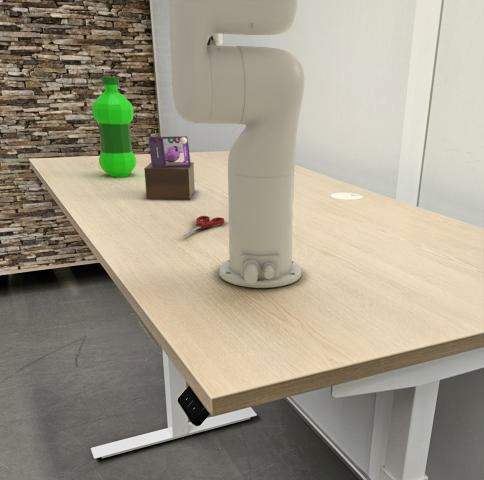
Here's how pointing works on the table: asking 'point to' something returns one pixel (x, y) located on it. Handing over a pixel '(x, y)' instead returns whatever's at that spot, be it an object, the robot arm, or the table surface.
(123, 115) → the plastic bottle
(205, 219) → the scissors
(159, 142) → the purple toy box
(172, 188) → the walnut block
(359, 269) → the table surface
